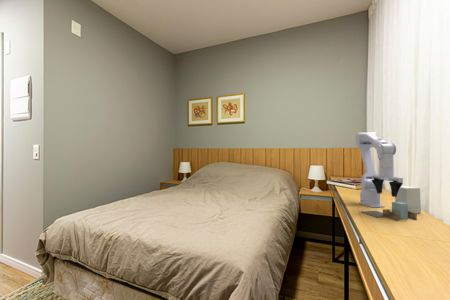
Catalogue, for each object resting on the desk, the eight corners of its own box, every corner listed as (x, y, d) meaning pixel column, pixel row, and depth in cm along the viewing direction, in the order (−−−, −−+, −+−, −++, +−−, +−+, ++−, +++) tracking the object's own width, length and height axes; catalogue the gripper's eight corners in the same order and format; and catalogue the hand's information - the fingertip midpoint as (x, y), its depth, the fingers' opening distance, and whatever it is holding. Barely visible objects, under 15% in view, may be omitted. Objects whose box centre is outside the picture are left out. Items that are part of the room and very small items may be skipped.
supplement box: (421, 213, 103) (421, 188, 103) (406, 213, 103) (406, 188, 103) (408, 209, 110) (408, 185, 111) (394, 209, 111) (394, 185, 111)
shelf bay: (382, 215, 99) (382, 209, 99) (400, 214, 101) (400, 208, 101) (398, 220, 92) (398, 214, 92) (416, 219, 93) (416, 212, 93)
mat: (360, 212, 105) (360, 211, 105) (376, 211, 107) (376, 210, 107) (376, 217, 96) (376, 216, 96) (392, 216, 98) (392, 215, 98)
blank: (392, 216, 98) (391, 202, 98) (399, 216, 98) (398, 201, 98) (400, 219, 94) (400, 204, 94) (407, 219, 94) (407, 203, 94)
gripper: (366, 166, 109) (367, 192, 109) (394, 169, 95) (394, 198, 95) (377, 166, 111) (378, 191, 110) (406, 168, 96) (406, 197, 96)
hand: (386, 194), depth 103 cm, fingers open, 7 cm apart
